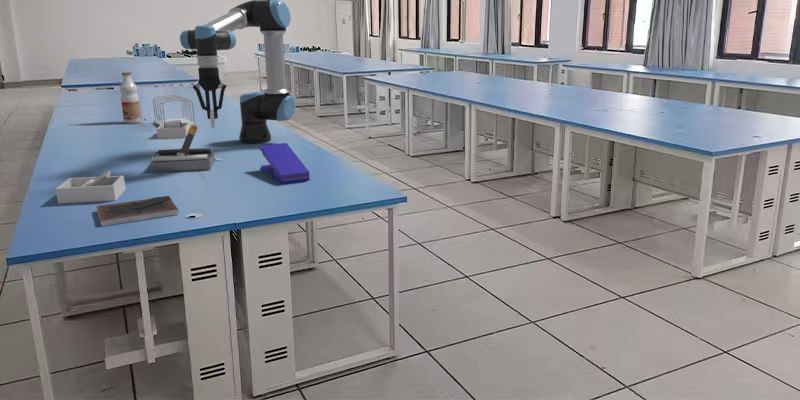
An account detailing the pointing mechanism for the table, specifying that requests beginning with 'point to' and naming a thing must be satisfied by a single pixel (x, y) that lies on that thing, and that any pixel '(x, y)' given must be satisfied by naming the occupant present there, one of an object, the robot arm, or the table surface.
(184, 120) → the file sorter
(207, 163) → the breaker panel
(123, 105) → the fruit juice
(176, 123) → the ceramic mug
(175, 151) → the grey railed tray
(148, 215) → the picture frame
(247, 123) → the robot arm
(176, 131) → the mug tray
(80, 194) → the tray
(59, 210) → the table surface
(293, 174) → the stapler
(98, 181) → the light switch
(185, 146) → the lever
